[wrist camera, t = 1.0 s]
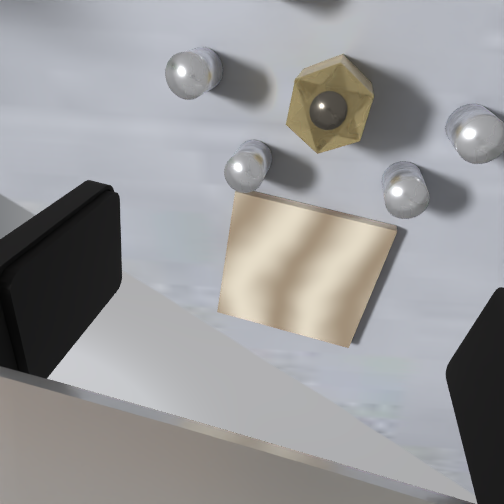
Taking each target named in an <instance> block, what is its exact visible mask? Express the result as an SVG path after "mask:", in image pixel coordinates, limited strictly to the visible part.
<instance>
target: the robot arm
mask: <svg viewBox="0 0 504 504" xmlns="http://www.w3.org/2000/svg"><path fill="white" fill-rule="evenodd" d="M121 280H122V261H121V227H120V198H119V195H118V193H116V192H114V190H113V187H112V186H111V185H107V184H103V183H99V182H95V181H90V180H87V181H85V182H84V183H82V184H81V185H79V186H78V187H76V188H75V189H73V190H72V191H70V192H69V193H68V194H66V195H65V196H63V197H62V198H60V199H59V200H57V201H56V202H54V203H53V204H51V205H50V206H49V207H47V208H46V209H44V210H43V211H41V212H40V213H38V214H37V215H35V216H34V217H33V218H31V219H30V220H28V221H27V222H25V223H24V224H22V225H21V226H19V227H18V228H16V229H15V230H13V231H12V232H11V233H9V234H8V235H6V236H5V237H3V238H2V239H0V504H474V503H471V502H467V501H464V500H460V499H457V498H454V497H450V496H447V495H444V494H440V493H437V492H434V491H430V490H427V489H424V488H420V487H417V486H413V485H410V484H407V483H404V482H400V481H397V480H394V479H390V478H387V477H384V476H380V475H377V474H373V473H370V472H367V471H363V470H360V469H357V468H353V467H350V466H346V465H343V464H339V463H336V462H333V461H329V460H326V459H323V458H319V457H316V456H312V455H309V454H305V453H302V452H299V451H295V450H292V449H289V448H285V447H282V446H278V445H275V444H272V443H268V442H265V441H261V440H258V439H254V438H251V437H248V436H244V435H241V434H237V433H234V432H230V431H227V430H224V429H220V428H217V427H213V426H210V425H207V424H203V423H200V422H196V421H193V420H189V419H186V418H182V417H179V416H176V415H172V414H168V413H165V412H162V411H158V410H155V409H151V408H148V407H144V406H141V405H137V404H134V403H130V402H127V401H123V400H120V399H116V398H113V397H109V396H105V395H102V394H99V393H95V392H91V391H88V390H85V389H81V388H78V387H74V386H71V385H67V384H64V383H60V382H57V381H53V380H49V379H47V378H48V376H49V375H50V374H51V373H52V371H53V370H54V369H55V368H56V366H57V365H58V364H59V363H60V361H61V360H62V359H63V358H64V356H65V355H66V354H67V352H68V351H69V350H70V349H71V348H72V346H73V345H74V344H75V343H76V341H77V340H78V339H79V338H80V336H81V335H82V334H83V333H84V331H85V330H86V329H87V328H88V326H89V325H90V324H91V323H92V322H93V320H94V319H95V318H96V317H97V315H98V314H99V313H100V312H101V310H102V309H103V308H104V307H105V305H106V304H107V303H108V302H109V300H110V299H111V298H112V297H113V295H114V294H115V293H116V292H117V290H118V289H119V287H120V284H121ZM446 380H447V384H448V388H449V392H450V396H451V400H452V404H453V408H454V412H455V416H456V420H457V424H458V428H459V432H460V436H461V440H462V444H463V448H464V452H465V456H466V460H467V464H468V468H469V472H470V476H471V480H472V484H473V488H474V492H475V496H476V499H477V503H478V504H504V288H502V287H500V288H498V289H497V290H496V291H495V292H494V293H493V295H492V297H491V298H490V300H489V301H488V303H487V304H486V306H485V307H484V309H483V311H482V312H481V314H480V315H479V317H478V318H477V320H476V321H475V323H474V325H473V326H472V328H471V329H470V331H469V332H468V334H467V335H466V337H465V339H464V340H463V342H462V343H461V345H460V346H459V348H458V349H457V351H456V353H455V354H454V356H453V357H452V359H451V360H450V362H449V364H448V366H447V369H446Z"/></svg>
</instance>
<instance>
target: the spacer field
mask: <svg viewBox="0 0 504 504" xmlns="http://www.w3.org/2000/svg"><path fill="white" fill-rule="evenodd" d="M222 75H223V65H222V62H221V59H220V58H219V56H218V55H217V54H216V53H215V52H214V51H213V50H211V49H209V48H206V47H199V48H195V49H192V50H188V51H184V52H181V53H178V54H175V55H174V56H172V57H171V58H170V60H169V61H168V63H167V66H166V71H165V76H166V81H167V84H168V86H169V88H170V89H171V91H172V92H173V93H174V94H175V95H177V96H178V97H180V98H182V99H187V100H190V99H195V98H197V97H199V96H200V95H202V94H204V93H206V92H207V91H209V90H211V89H212V88H214V87H215V86H217V85H218V84H219V82H220V81H221V78H222ZM445 130H446V135H447V137H448V139H449V140H450V142H451V143H452V145H453V146H454V148H455V149H456V150H457V152H458V153H459V155H460V156H461V157H462V158H463V159H464V160H465V161H467V162H470V163H474V164H482V163H487V162H490V161H492V160H494V159H495V158H497V157H498V156H499V155H501V154H502V153H503V151H504V122H503V121H502V120H500V119H499V118H498V117H497V116H495V115H494V114H493V113H492V112H490V111H489V110H488V109H487V108H485V107H484V106H482V105H479V104H467V105H464V106H461V107H459V108H458V109H456V110H455V111H454V112H453V113H452V114H451V115H450V117H449V118H448V120H447V123H446V128H445ZM271 163H272V154H271V151H270V149H269V148H268V146H267V145H266V144H264V143H263V142H261V141H258V140H249V141H246V142H244V143H243V144H242V145H241V146H240V147H239V148H238V150H237V151H236V152H235V153H234V155H233V156H232V157H231V158H230V160H229V161H228V162H227V164H226V166H225V169H224V175H225V179H226V181H227V183H228V184H229V186H230V187H231V188H233V189H234V190H236V191H238V192H241V193H249V192H252V191H254V190H256V189H257V188H258V187H259V186H260V184H261V183H262V181H263V179H264V177H265V175H266V173H267V171H268V169H269V167H270V165H271ZM382 186H383V193H384V199H385V205H386V208H387V210H388V211H389V213H390V214H392V215H393V216H395V217H397V218H401V219H409V218H413V217H416V216H418V215H420V214H421V213H422V212H423V211H424V210H425V209H426V208H427V206H428V204H429V200H430V195H429V191H428V189H427V186H426V184H425V181H424V179H423V176H422V174H421V171H420V169H419V168H418V167H417V166H416V165H415V164H413V163H411V162H406V161H402V162H397V163H394V164H392V165H391V166H389V167H388V168H387V169H386V171H385V172H384V174H383V177H382Z"/></svg>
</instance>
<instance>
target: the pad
mask: <svg viewBox="0 0 504 504" xmlns="http://www.w3.org/2000/svg"><path fill="white" fill-rule="evenodd" d="M396 233H397V226H396V225H391V224H387V223H383V222H379V221H375V220H371V219H367V218H362V217H358V216H354V215H350V214H346V213H342V212H338V211H333V210H329V209H325V208H321V207H317V206H313V205H309V204H305V203H300V202H296V201H292V200H288V199H284V198H280V197H276V196H271V195H267V194H263V193H259V192H255V191H252V192H249V193H241V192H238V191H235V197H234V203H233V210H232V217H231V224H230V230H229V237H228V244H227V250H226V257H225V264H224V271H223V277H222V284H221V291H220V298H219V304H218V311H217V312H219V313H223V314H226V315H230V316H234V317H237V318H241V319H245V320H248V321H252V322H256V323H259V324H263V325H267V326H270V327H274V328H277V329H281V330H285V331H288V332H292V333H296V334H299V335H303V336H307V337H310V338H314V339H318V340H321V341H325V342H329V343H332V344H336V345H340V346H343V347H347V348H349V346H350V343H351V341H352V339H353V336H354V334H355V331H356V329H357V327H358V324H359V322H360V320H361V317H362V315H363V312H364V310H365V308H366V305H367V303H368V300H369V298H370V296H371V293H372V291H373V288H374V286H375V284H376V281H377V279H378V276H379V274H380V272H381V269H382V267H383V264H384V262H385V260H386V257H387V255H388V253H389V250H390V248H391V245H392V243H393V241H394V238H395V236H396Z"/></svg>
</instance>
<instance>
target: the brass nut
mask: <svg viewBox="0 0 504 504" xmlns="http://www.w3.org/2000/svg"><path fill="white" fill-rule="evenodd" d="M373 98H374V93H373V88H372V83H371V82H370V81H369V80H368V79H367V78H366V77H365V76H364V75H363V74H362V73H361V72H360V71H359V70H358V69H357V68H356V67H355V66H354V65H353V64H352V63H351V62H350V61H349V60H348V59H347V58H346V57H345V56H344V55H343V54H341V55H339V56H336V57H333V58H331V59H328V60H325V61H323V62H320V63H317V64H315V65H312V66H309V67H307V68H304V69H303V70H302V71H301V73H300V74H299V75H298V76H297V78H296V79H295V83H294V88H293V93H292V98H291V103H290V107H289V112H288V117H287V122H286V125H287V126H288V127H289V128H290V129H291V130H292V131H293V132H294V133H296V134H297V135H298V136H299V137H300V138H301V139H302V140H303V141H304V142H305V143H306V144H307V145H308V146H310V147H311V148H312V149H313V150H314V151H315V152H316V153H317V154H318V153H321V152H325V151H328V150H332V149H335V148H338V147H342V146H345V145H349V144H352V143H355V142H359V141H360V139H361V136H362V133H363V130H364V127H365V123H366V120H367V117H368V114H369V111H370V107H371V104H372V101H373Z"/></svg>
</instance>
